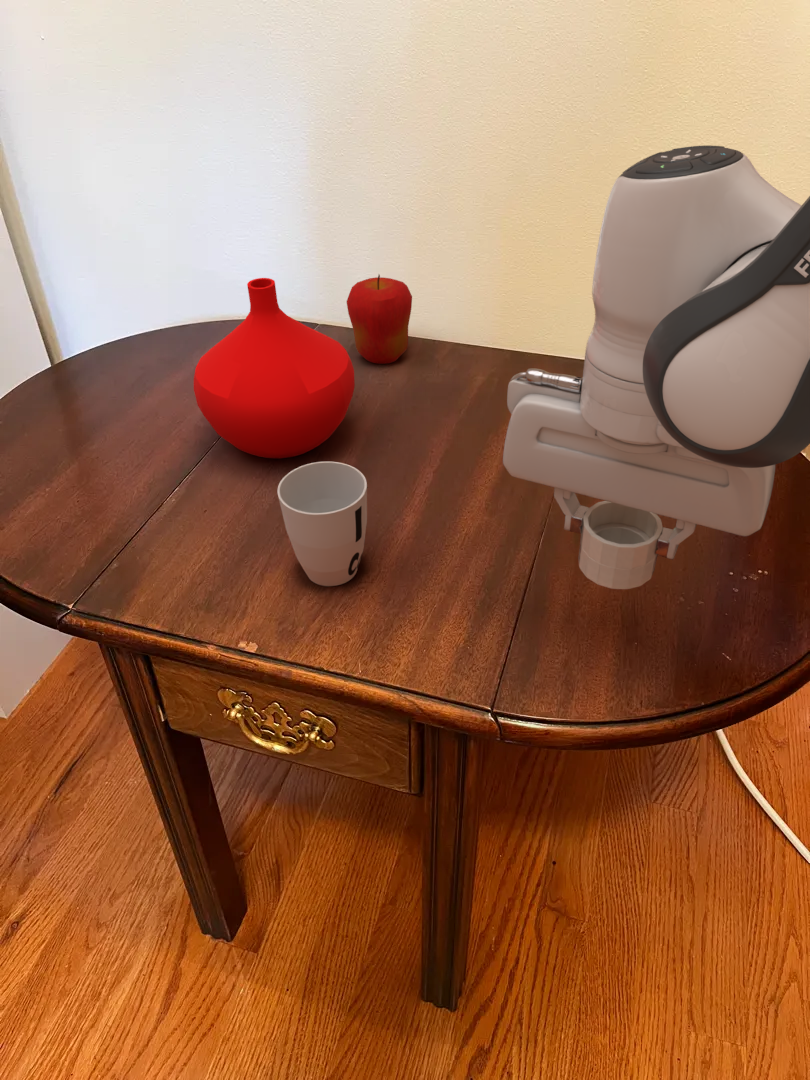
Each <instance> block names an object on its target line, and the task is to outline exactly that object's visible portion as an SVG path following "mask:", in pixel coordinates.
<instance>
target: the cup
mask: <svg viewBox="0 0 810 1080" xmlns="http://www.w3.org/2000/svg"><path fill="white" fill-rule="evenodd" d="M367 483H368V482H367V478H366V477H365V475H364V473H363V472H362V471H361V470H359V469H358V468H357V467H354V466H352V465H349V464H347V463H344V462H339V461H316V462H311V463H307V464H303V465H301V466H298V467H297V468H294V469H292V470H290V472H288V473H287V474H286V475H284V476H283V477H282V479H281V480H280V481H279V483H278V486H277V490H276V491H277V496H278V497H277V498H278V501H279V506H280V510H281V514H282V519H283V523H284V527H285V531H286V533H287V536H288V539H289V542H290V544H291V547H292V549H293V552H294V554H295V557H296V559H297V561H298V563H299V564H300V566H301V568H302V569H303V571H304V572H305V574H306V576H307V577H308V579H309V580H310V581H311V582H313V583H314V584H316V585H319V586H323V587H335V586H340V585H344V584H346V583H348V582H349V581H350V580H352V579H353V578H355V575H356V574H357V571H358V569H359V566H360V562H361V560H362V559H361V558H362V556H363V553H364V548H365V540H366V532H367V526H368V525H367V524H368V484H367Z"/></svg>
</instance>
